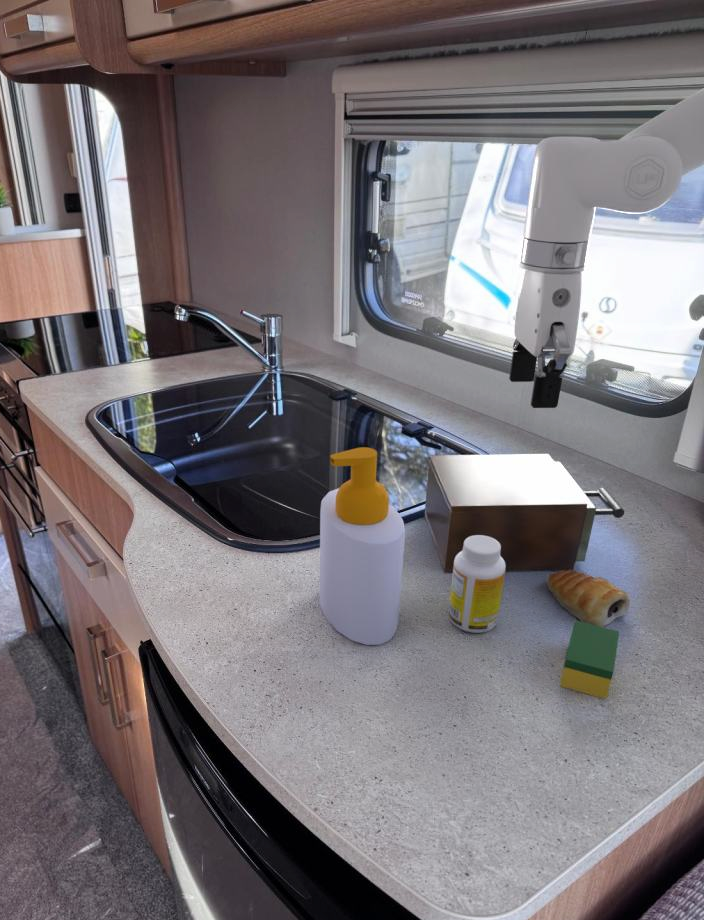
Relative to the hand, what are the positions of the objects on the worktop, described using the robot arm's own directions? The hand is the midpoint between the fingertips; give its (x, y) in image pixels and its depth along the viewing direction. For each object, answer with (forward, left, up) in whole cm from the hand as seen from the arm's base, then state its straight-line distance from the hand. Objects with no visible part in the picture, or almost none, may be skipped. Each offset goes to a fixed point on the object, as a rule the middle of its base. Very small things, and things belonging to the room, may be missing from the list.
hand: (531, 393), depth 93 cm
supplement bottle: (+11, +22, -19) cm, 31 cm away
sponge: (+1, +31, -19) cm, 37 cm away
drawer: (-1, +5, -18) cm, 19 cm away
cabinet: (+4, +5, -19) cm, 20 cm away
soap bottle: (+24, +20, -19) cm, 37 cm away
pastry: (-3, +20, -19) cm, 28 cm away
